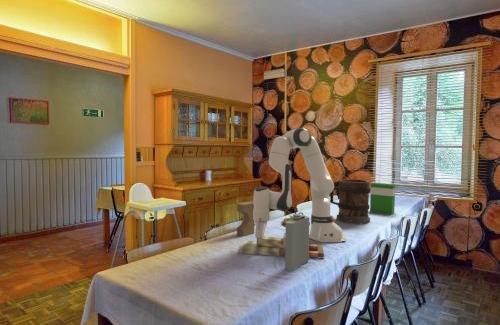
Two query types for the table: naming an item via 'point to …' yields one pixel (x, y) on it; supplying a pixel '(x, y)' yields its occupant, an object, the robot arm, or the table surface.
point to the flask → (296, 242)
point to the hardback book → (382, 198)
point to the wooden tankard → (352, 201)
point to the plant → (290, 218)
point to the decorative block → (246, 218)
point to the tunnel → (284, 240)
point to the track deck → (276, 249)
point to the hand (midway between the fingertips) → (260, 241)
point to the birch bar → (271, 242)
